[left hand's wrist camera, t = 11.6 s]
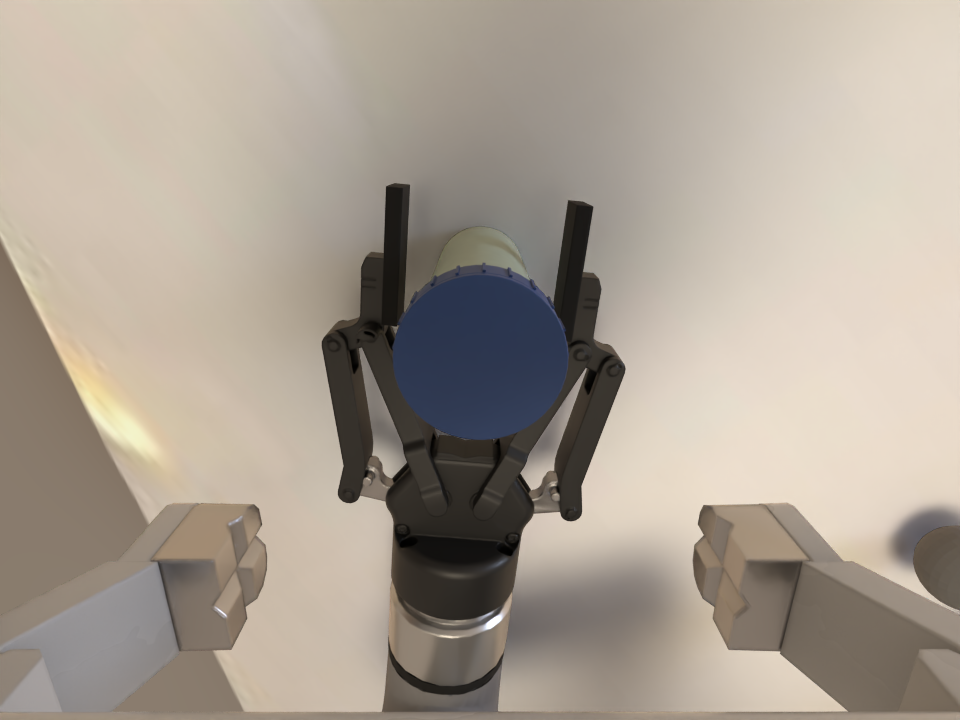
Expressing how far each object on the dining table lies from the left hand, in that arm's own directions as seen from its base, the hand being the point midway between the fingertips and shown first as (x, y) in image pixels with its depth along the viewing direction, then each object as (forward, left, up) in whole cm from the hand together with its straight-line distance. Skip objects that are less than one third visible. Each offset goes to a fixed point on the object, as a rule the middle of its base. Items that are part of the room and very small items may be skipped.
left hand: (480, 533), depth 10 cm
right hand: (-4, +2, -19) cm, 20 cm away
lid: (0, 0, -10) cm, 10 cm away
